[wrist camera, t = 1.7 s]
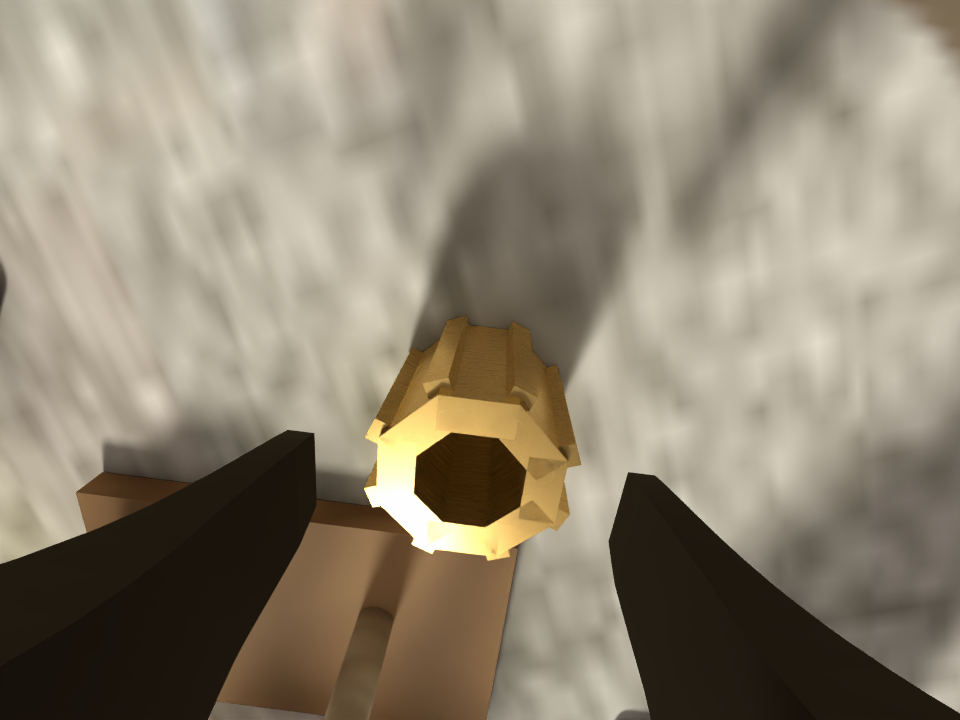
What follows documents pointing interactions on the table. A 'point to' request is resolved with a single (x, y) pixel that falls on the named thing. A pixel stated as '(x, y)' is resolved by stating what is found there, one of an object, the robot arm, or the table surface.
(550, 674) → the table surface
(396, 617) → the gear board
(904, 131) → the table surface
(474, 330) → the brass gear
